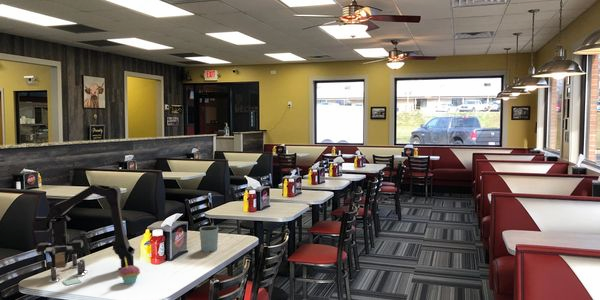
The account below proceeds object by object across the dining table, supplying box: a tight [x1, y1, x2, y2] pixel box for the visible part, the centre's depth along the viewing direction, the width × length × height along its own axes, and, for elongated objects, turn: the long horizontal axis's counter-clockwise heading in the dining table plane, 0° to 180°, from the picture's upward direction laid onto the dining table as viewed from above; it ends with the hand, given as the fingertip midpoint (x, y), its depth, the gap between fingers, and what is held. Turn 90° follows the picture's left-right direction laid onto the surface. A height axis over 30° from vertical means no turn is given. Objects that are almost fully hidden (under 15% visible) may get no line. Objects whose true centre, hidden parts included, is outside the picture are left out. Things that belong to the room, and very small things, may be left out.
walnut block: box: [54, 251, 68, 269], centre depth 216 cm, size 4×4×6 cm
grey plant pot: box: [199, 225, 219, 253], centre depth 251 cm, size 10×10×12 cm
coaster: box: [62, 277, 82, 286], centre depth 205 cm, size 6×6×1 cm
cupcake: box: [118, 258, 141, 285], centre depth 203 cm, size 9×8×12 cm
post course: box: [48, 253, 88, 284], centre depth 216 cm, size 19×17×6 cm
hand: (61, 264), depth 216 cm, fingers closed on walnut block, 4 cm apart
